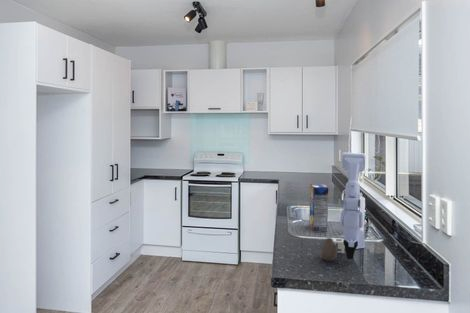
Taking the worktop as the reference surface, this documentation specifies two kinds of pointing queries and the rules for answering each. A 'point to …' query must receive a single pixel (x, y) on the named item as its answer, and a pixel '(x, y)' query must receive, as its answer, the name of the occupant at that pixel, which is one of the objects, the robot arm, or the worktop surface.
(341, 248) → the letter cube
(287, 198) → the worktop surface
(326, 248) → the vase
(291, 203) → the worktop surface
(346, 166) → the robot arm
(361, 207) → the milk
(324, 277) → the worktop surface
